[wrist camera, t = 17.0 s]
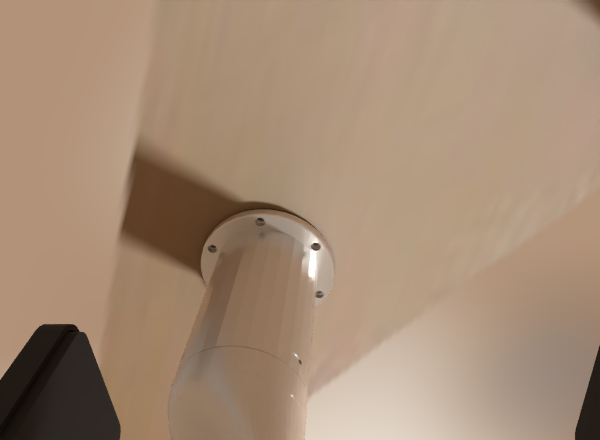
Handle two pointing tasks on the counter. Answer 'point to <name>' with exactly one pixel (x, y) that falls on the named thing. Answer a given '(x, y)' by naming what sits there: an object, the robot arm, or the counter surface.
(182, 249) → the counter surface
